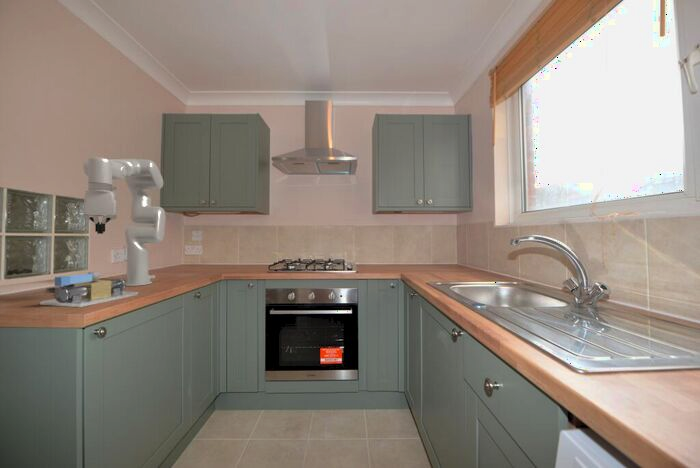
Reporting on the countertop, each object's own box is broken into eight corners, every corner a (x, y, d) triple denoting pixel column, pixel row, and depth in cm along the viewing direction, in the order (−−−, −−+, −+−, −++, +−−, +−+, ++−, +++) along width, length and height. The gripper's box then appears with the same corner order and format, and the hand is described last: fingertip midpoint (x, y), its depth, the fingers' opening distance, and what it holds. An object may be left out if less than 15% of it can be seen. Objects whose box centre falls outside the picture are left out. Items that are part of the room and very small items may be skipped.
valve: (112, 295, 141) (76, 296, 127) (72, 295, 147) (33, 296, 133) (114, 281, 142) (78, 281, 128) (74, 282, 149) (36, 281, 134)
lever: (94, 280, 124) (94, 271, 124) (101, 280, 124) (101, 271, 124) (53, 285, 110) (53, 276, 110) (62, 286, 109) (62, 276, 109)
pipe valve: (103, 293, 135) (104, 276, 136) (137, 294, 132) (138, 277, 132) (40, 304, 112) (40, 284, 112) (79, 307, 109) (80, 286, 109)
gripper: (123, 190, 129) (123, 233, 130) (77, 187, 121) (77, 233, 121) (122, 189, 123) (122, 233, 123) (73, 185, 115) (73, 233, 115)
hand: (100, 233), depth 122 cm, fingers closed
